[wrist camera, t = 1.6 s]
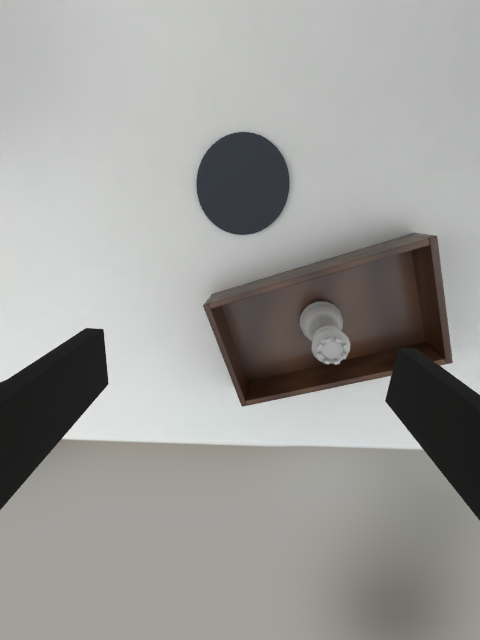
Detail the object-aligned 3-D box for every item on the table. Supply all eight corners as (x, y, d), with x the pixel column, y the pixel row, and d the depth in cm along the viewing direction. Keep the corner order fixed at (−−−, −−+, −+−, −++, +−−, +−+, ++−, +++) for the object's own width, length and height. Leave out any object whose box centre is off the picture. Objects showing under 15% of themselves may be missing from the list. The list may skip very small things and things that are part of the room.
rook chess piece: (324, 345, 33) (337, 384, 25) (291, 324, 33) (294, 357, 25) (350, 314, 31) (372, 345, 24) (315, 292, 31) (327, 316, 24)
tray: (414, 232, 28) (437, 235, 24) (431, 344, 32) (452, 363, 28) (211, 294, 33) (202, 305, 29) (245, 385, 36) (241, 406, 32)
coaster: (284, 123, 26) (284, 122, 26) (293, 227, 29) (293, 227, 29) (189, 143, 28) (188, 142, 28) (206, 240, 31) (205, 240, 30)
